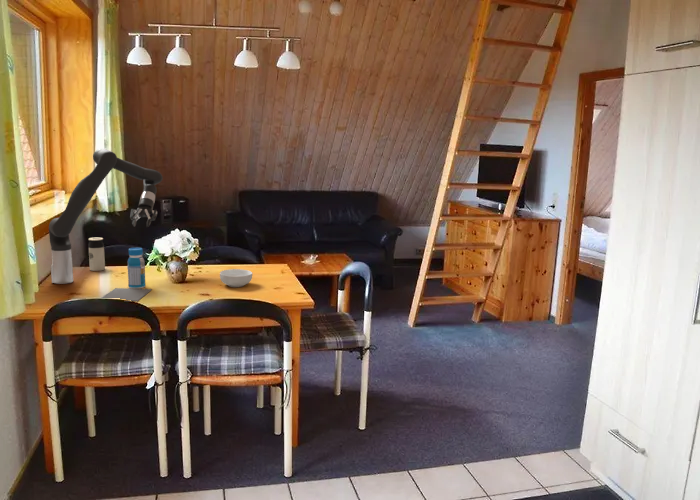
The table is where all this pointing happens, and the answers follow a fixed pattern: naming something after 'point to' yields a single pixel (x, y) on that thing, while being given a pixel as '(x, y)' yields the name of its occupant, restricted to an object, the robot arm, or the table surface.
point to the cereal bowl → (236, 277)
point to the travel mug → (96, 254)
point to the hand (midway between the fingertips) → (140, 225)
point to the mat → (127, 293)
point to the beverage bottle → (136, 268)
